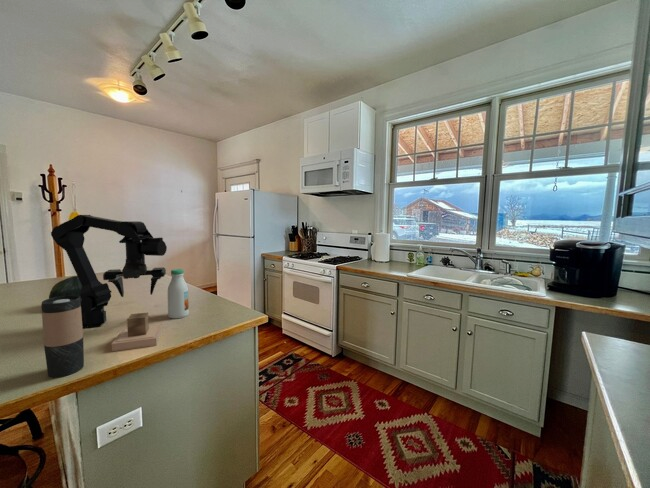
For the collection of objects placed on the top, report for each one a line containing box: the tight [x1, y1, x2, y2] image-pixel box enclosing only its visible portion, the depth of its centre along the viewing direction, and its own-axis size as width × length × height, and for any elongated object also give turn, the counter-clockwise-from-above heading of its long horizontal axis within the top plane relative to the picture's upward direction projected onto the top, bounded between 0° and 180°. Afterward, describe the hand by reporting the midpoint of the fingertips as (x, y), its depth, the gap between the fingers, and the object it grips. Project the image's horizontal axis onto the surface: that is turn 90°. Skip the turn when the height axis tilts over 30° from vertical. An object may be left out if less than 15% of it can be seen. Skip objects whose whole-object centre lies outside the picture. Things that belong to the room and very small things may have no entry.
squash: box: [48, 275, 82, 302], centre depth 122 cm, size 14×15×15 cm
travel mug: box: [41, 296, 85, 379], centre depth 73 cm, size 8×8×20 cm
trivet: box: [111, 324, 163, 352], centre depth 92 cm, size 12×12×3 cm
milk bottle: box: [167, 268, 190, 319], centre depth 114 cm, size 8×8×20 cm
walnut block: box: [126, 312, 150, 337], centre depth 92 cm, size 5×5×6 cm
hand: (137, 295), depth 103 cm, fingers open, 9 cm apart
